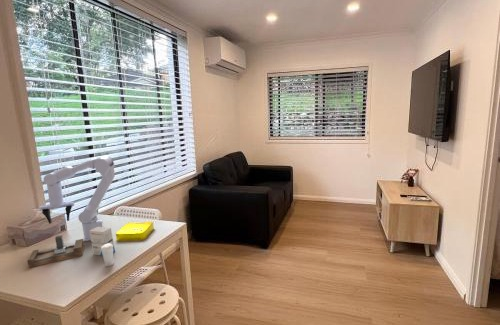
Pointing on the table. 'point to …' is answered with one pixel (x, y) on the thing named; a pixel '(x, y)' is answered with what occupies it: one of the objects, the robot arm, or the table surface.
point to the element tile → (134, 231)
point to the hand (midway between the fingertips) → (59, 221)
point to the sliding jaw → (60, 245)
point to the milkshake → (107, 254)
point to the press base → (49, 255)
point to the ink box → (100, 239)
